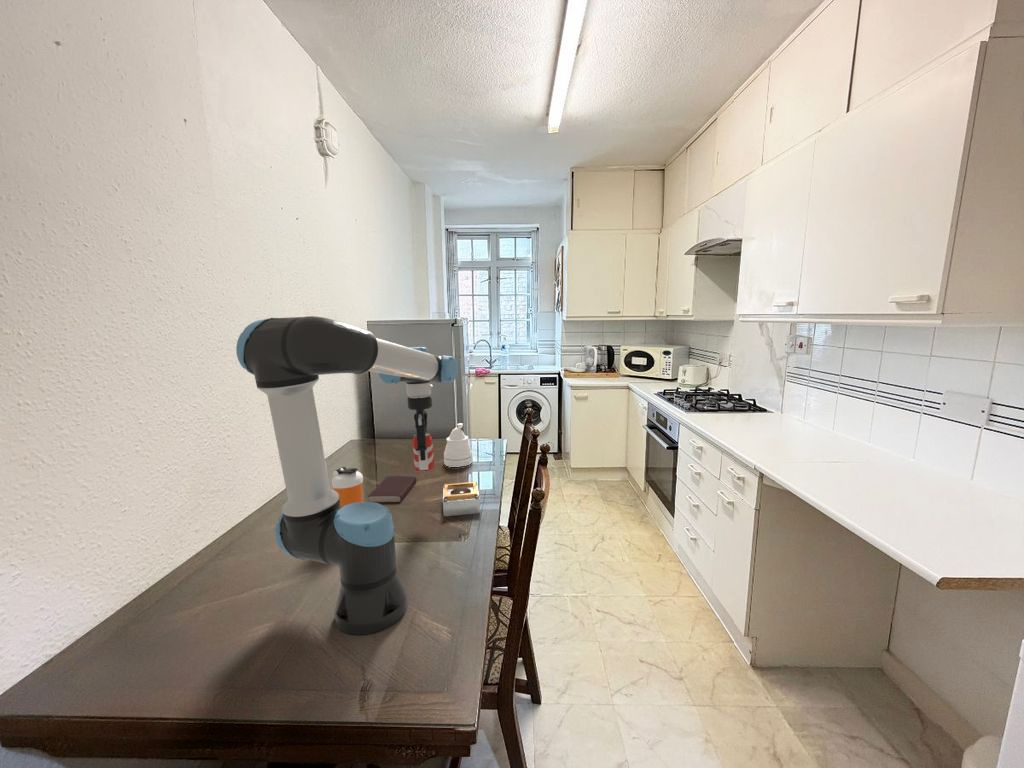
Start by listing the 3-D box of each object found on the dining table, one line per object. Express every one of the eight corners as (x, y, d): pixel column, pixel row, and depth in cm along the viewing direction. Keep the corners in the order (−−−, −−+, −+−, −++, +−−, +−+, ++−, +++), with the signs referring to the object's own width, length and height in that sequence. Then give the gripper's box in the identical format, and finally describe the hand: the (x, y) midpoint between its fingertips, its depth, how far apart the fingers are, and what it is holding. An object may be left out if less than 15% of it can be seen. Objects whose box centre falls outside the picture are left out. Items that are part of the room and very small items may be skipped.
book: (417, 483, 171) (416, 475, 170) (401, 503, 151) (400, 494, 151) (386, 483, 171) (386, 476, 171) (367, 503, 152) (366, 495, 152)
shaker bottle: (357, 539, 125) (351, 474, 123) (330, 537, 127) (324, 473, 125) (372, 525, 134) (367, 464, 131) (347, 523, 136) (341, 463, 133)
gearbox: (480, 512, 140) (479, 495, 139) (443, 516, 139) (442, 498, 138) (477, 496, 154) (476, 480, 153) (444, 499, 152) (443, 483, 151)
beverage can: (412, 473, 135) (409, 436, 133) (419, 466, 141) (416, 431, 139) (430, 473, 134) (427, 436, 132) (436, 466, 140) (434, 431, 138)
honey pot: (462, 457, 201) (460, 420, 199) (478, 463, 191) (476, 424, 189) (439, 463, 193) (436, 425, 191) (454, 470, 183) (451, 429, 181)
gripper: (430, 400, 125) (435, 475, 128) (432, 390, 144) (436, 456, 147) (404, 402, 124) (410, 477, 127) (409, 391, 142) (414, 457, 146)
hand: (424, 465), depth 137 cm, fingers closed on beverage can, 6 cm apart
